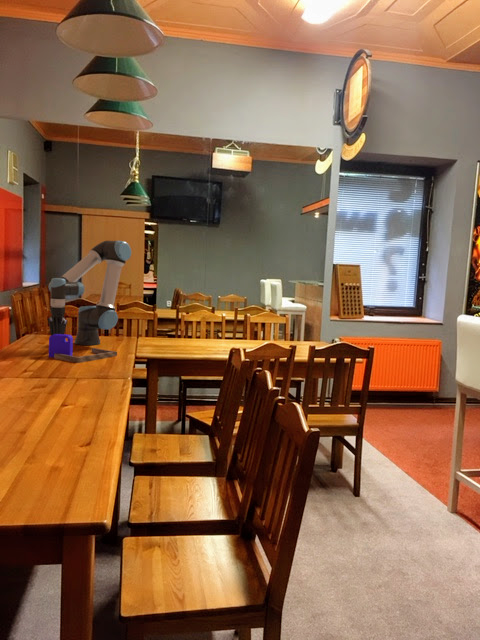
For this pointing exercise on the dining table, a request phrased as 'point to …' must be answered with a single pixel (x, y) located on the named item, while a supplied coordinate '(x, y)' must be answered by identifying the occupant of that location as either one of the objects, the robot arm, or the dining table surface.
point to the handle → (100, 355)
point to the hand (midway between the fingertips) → (57, 349)
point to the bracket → (60, 344)
